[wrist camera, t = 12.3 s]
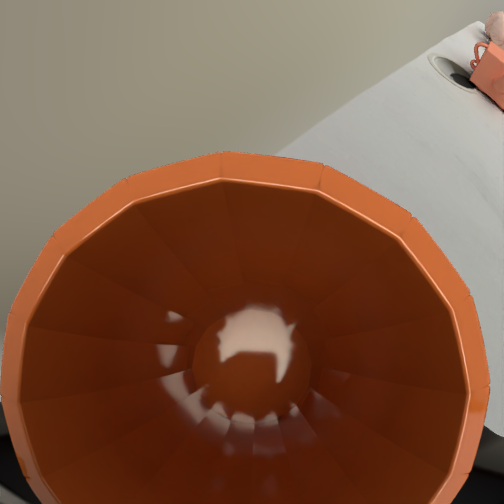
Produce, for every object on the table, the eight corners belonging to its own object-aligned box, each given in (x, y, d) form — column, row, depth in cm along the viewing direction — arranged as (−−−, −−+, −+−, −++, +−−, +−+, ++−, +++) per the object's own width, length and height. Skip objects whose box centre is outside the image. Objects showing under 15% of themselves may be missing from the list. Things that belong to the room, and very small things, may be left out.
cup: (330, 408, 14) (491, 516, 2) (204, 437, 14) (91, 594, 1) (298, 289, 16) (397, 124, 4) (175, 318, 16) (-7, 227, 4)
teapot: (520, 101, 29) (541, 72, 21) (516, 140, 25) (547, 105, 17) (469, 57, 31) (486, 24, 23) (452, 83, 28) (476, 41, 20)
